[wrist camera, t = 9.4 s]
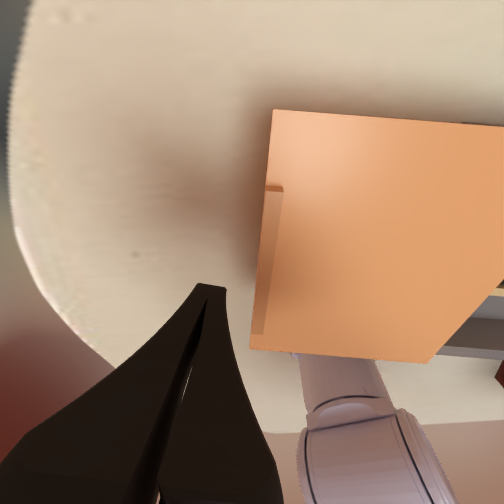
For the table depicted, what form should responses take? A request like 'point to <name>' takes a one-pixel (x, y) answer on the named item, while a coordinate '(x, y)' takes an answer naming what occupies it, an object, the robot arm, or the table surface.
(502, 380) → the vintage gas pump
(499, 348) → the housing
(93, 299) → the table surface
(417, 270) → the lid
